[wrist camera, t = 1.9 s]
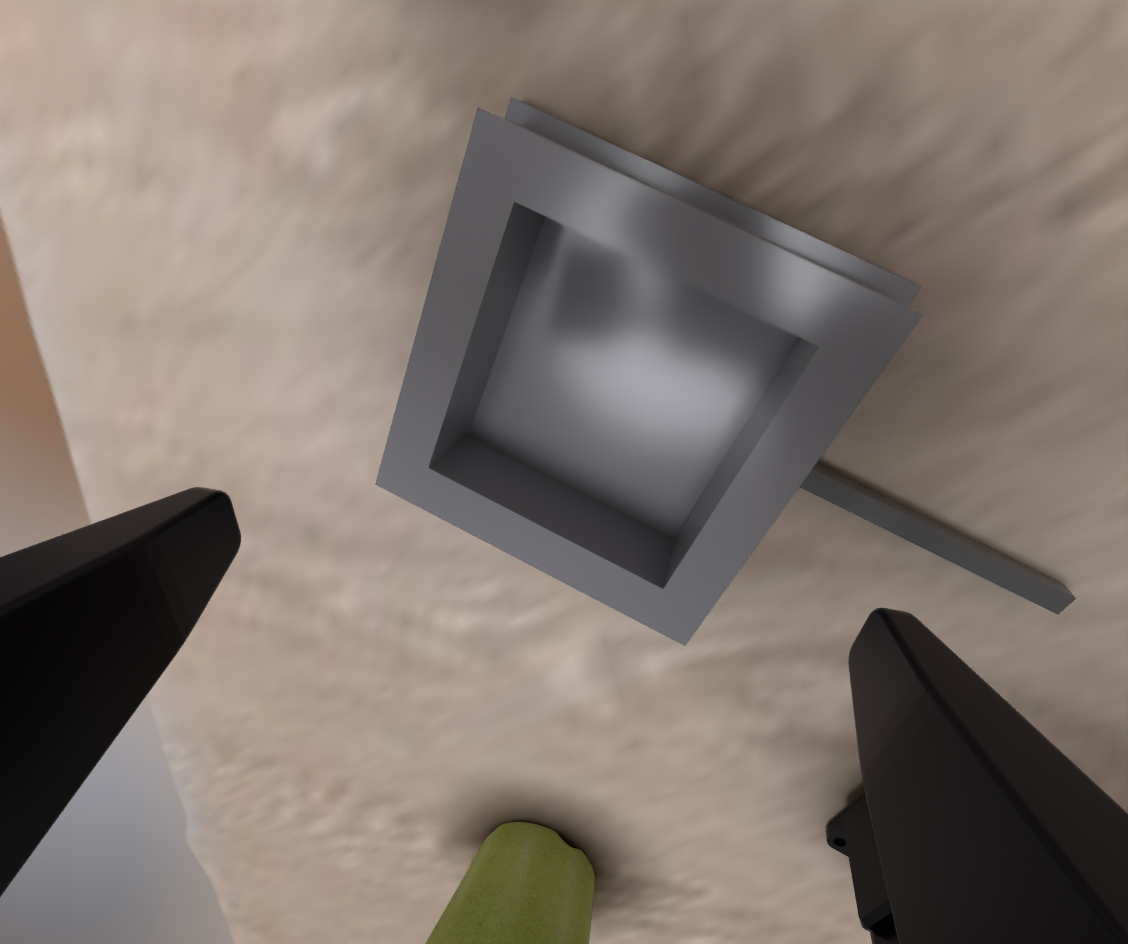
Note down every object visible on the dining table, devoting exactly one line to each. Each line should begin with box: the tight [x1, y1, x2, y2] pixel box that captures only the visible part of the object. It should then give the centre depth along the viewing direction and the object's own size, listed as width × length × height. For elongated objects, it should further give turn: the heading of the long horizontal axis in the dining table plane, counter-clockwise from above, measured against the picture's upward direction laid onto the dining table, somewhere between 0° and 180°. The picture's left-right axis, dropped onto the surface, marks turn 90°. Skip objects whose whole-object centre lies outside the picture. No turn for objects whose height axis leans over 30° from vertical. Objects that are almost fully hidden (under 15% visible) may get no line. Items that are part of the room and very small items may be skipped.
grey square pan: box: [376, 97, 1076, 646], centre depth 17 cm, size 21×12×4 cm, turn 67°
